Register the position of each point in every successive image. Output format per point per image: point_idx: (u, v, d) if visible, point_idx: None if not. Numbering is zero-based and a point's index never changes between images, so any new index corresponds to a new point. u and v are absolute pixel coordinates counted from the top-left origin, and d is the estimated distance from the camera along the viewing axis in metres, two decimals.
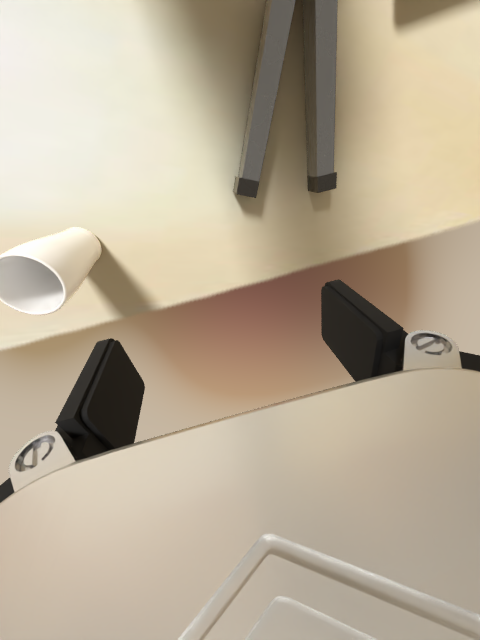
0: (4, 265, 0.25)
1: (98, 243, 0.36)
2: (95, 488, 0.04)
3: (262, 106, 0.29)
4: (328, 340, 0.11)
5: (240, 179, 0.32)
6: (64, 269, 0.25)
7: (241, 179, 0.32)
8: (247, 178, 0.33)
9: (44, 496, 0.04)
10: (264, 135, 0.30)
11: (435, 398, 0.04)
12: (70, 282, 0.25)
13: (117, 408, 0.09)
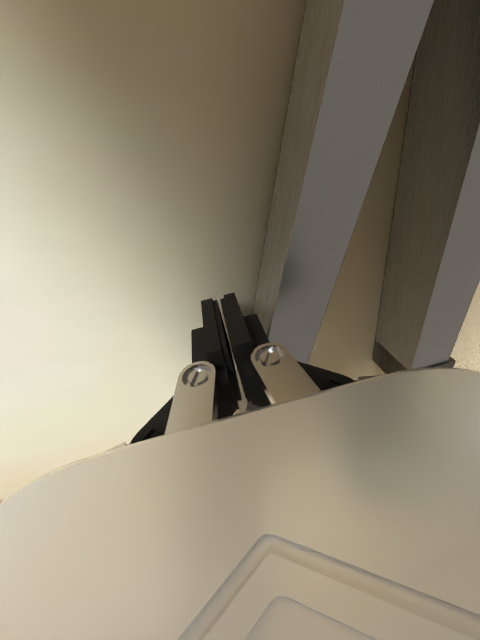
0: None
1: None
2: (95, 488, 0.04)
3: (309, 269, 0.10)
4: None
5: (250, 404, 0.13)
6: None
7: None
8: None
9: (43, 496, 0.04)
10: (310, 323, 0.11)
11: (435, 398, 0.04)
12: None
13: (230, 354, 0.10)
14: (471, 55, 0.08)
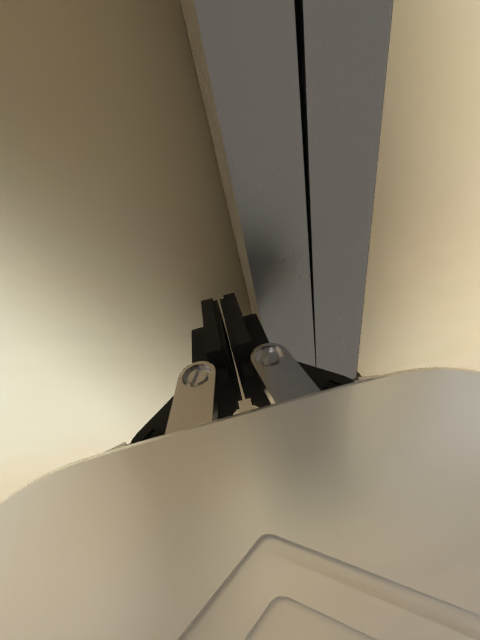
0: None
1: None
2: (95, 488, 0.04)
3: (279, 283, 0.10)
4: None
5: None
6: None
7: None
8: None
9: (43, 497, 0.04)
10: (302, 326, 0.12)
11: (435, 398, 0.04)
12: None
13: (230, 354, 0.10)
14: None
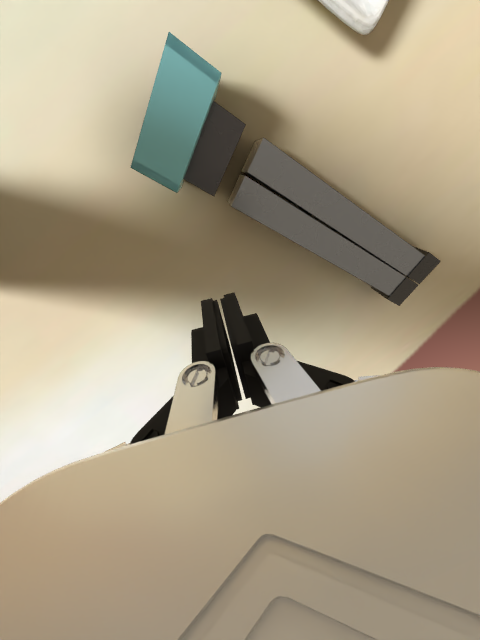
0: None
1: None
2: (95, 488, 0.04)
3: (345, 257, 0.23)
4: None
5: (390, 298, 0.27)
6: None
7: (391, 297, 0.27)
8: (394, 290, 0.26)
9: (43, 496, 0.04)
10: (369, 261, 0.24)
11: (435, 398, 0.04)
12: None
13: (230, 354, 0.10)
14: (302, 209, 0.21)
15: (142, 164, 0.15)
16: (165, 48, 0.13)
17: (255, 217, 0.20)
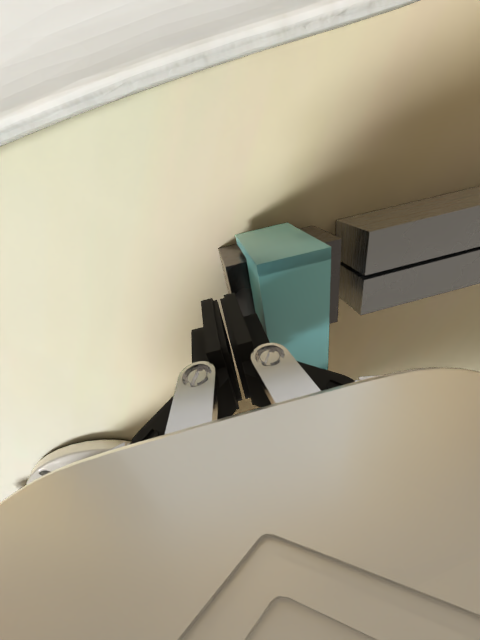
0: None
1: None
2: (95, 488, 0.04)
3: None
4: None
5: None
6: None
7: None
8: None
9: (43, 496, 0.04)
10: None
11: (435, 398, 0.04)
12: None
13: (230, 354, 0.10)
14: None
15: None
16: (260, 280, 0.10)
17: (394, 304, 0.15)
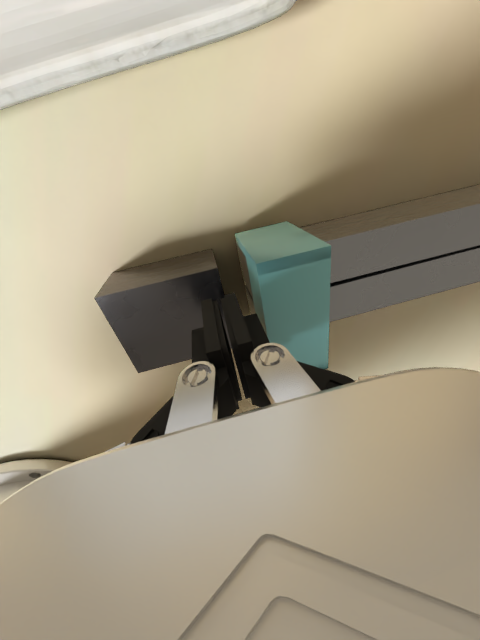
0: None
1: None
2: (95, 488, 0.04)
3: (448, 275, 0.15)
4: None
5: None
6: None
7: None
8: None
9: (43, 497, 0.04)
10: None
11: (435, 398, 0.04)
12: None
13: (230, 354, 0.10)
14: None
15: None
16: (260, 279, 0.10)
17: None
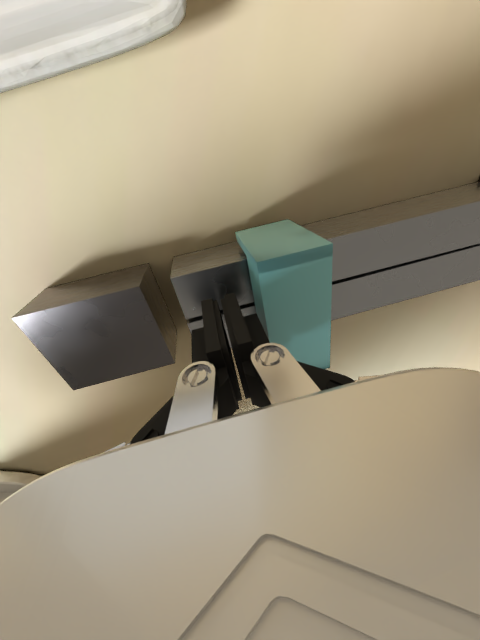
0: None
1: None
2: (95, 488, 0.04)
3: (391, 289, 0.14)
4: None
5: None
6: None
7: None
8: None
9: (44, 496, 0.04)
10: (435, 265, 0.14)
11: (435, 398, 0.04)
12: None
13: (230, 354, 0.10)
14: None
15: None
16: (260, 278, 0.09)
17: None
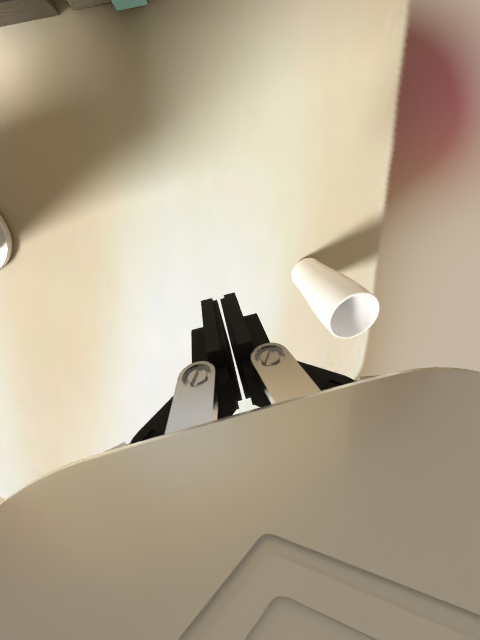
0: None
1: (308, 259, 0.40)
2: (95, 488, 0.04)
3: None
4: None
5: None
6: (346, 289, 0.29)
7: None
8: None
9: (44, 496, 0.04)
10: None
11: (435, 398, 0.04)
12: (358, 288, 0.29)
13: (230, 354, 0.10)
14: None
15: None
16: None
17: None
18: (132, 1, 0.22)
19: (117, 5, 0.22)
